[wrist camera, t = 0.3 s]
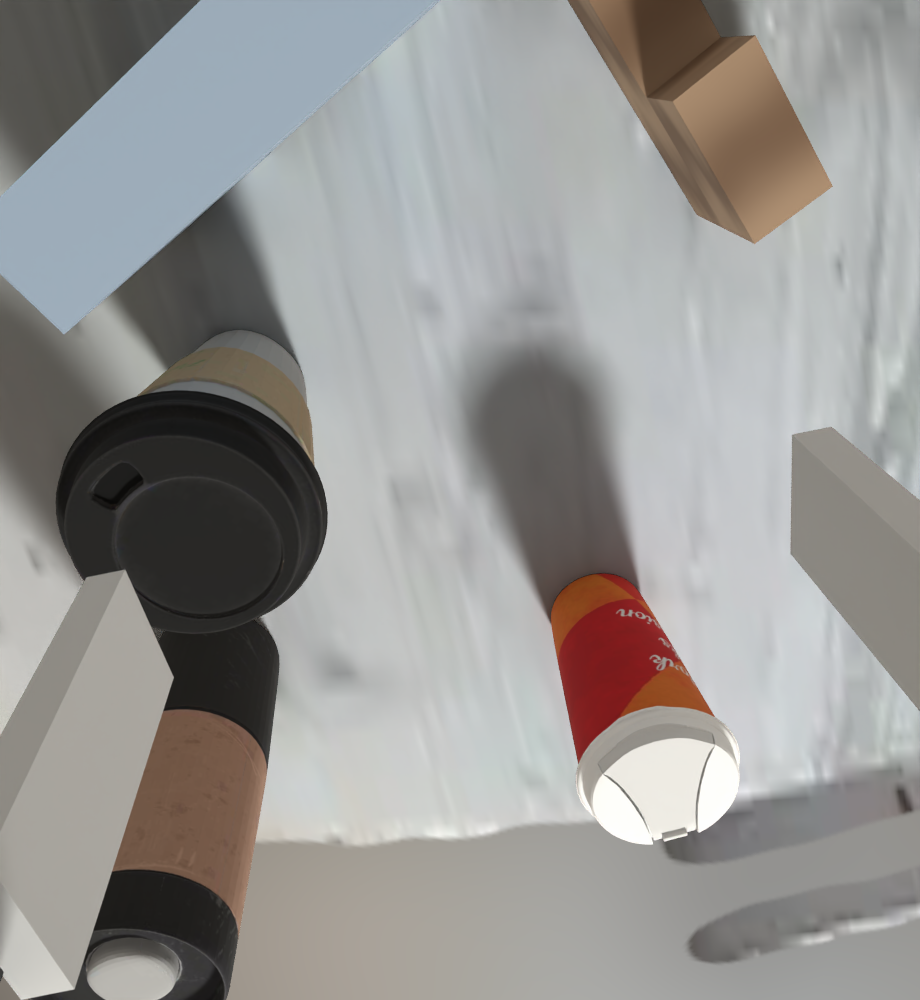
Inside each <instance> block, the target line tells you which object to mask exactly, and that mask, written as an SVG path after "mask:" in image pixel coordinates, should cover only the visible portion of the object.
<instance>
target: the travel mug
mask: <svg viewBox="0 0 920 1000" xmlns="http://www.w3.org/2000/svg"><path fill="white" fill-rule="evenodd" d="M158 644H159V646H160V648H161V650H162V652H163V655H164V657H165V659H166V661H167V664H168V666H169V668H170V670H171V672H172V675H173V677H174V678H173V681H172V685H171V688H170V691H169V694H168V697H167V700H166V703H165V707H164V710H163V713H162V716H161V719H160V722H159V725H158V729H157V732H156V735H155V738H154V741H153V744H152V747H151V750H150V754H149V757H148V760H147V763H146V766H145V769H144V772H143V776H142V779H141V782H140V785H139V788H138V791H137V794H136V798H135V801H134V804H133V807H132V810H131V813H130V816H129V820H128V823H127V826H126V829H125V832H124V835H123V838H122V842H121V845H120V848H119V851H118V854H117V857H116V860H115V864H114V867H113V870H112V873H111V876H110V879H109V882H108V885H107V889H106V892H105V895H104V898H103V901H102V904H101V907H100V911H99V914H98V917H97V920H96V923H95V926H94V929H93V933H92V936H91V939H90V942H89V945H88V948H87V951H86V955H85V958H84V961H83V964H82V967H81V970H80V973H79V977H78V980H77V983H76V986H75V989H73V990H68V991H63V992H58V993H53V994H48V995H43V996H38V997H33V998H28V999H29V1000H226V998H227V995H228V992H229V988H230V982H231V977H232V971H233V965H234V959H235V954H236V948H237V941H238V936H239V930H240V925H241V919H242V914H243V908H244V902H245V896H246V890H247V885H248V879H249V874H250V868H251V862H252V856H253V851H254V845H255V839H256V834H257V828H258V822H259V817H260V811H261V805H262V799H263V794H264V788H265V782H266V775H267V768H268V759H269V751H270V743H271V734H272V726H273V718H274V709H275V701H276V693H277V685H278V675H279V654H278V650H277V647H276V645H275V642H274V641H273V639H272V637H271V636H270V635H269V633H268V632H267V631H266V630H265V629H264V628H263V627H262V626H260V625H259V624H258V623H256V622H255V621H253V620H251V621H249V622H247V623H245V624H242V625H240V626H237V627H234V628H231V629H227V630H223V631H218V632H212V633H198V634H190V633H177V632H170V631H165V632H164V633H163V634H162V636H161V638H160V639H159V641H158Z"/></svg>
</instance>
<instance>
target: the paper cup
mask: <svg viewBox="0 0 920 1000" xmlns="http://www.w3.org/2000/svg"><path fill="white" fill-rule="evenodd" d="M551 624H552V632H553V638H554V644H555V649H556V654H557V659H558V665H559V670H560V675H561V680H562V685H563V690H564V695H565V700H566V705H567V710H568V715H569V720H570V725H571V730H572V735H573V740H574V745H575V750H576V755H577V760H578V768H577V772H576V787H577V793H578V795H579V798H580V800H581V802H582V803H583V805H584V806H585V808H586V809H587V810H588V811H589V812H590V813H591V814H592V815H593V816H594V817H595V818H596V819H597V821H598V822H599V824H600V825H602V826H603V827H604V828H605V829H606V830H607V831H608V832H610V833H611V834H613V835H614V836H616V837H618V838H621V839H623V840H626V841H629V842H633V843H639V844H653V842H652V839H651V837H653V839H654V840H657V839H661V838H663V840H664V841H668V840H672V839H675V838H679V837H683V836H687V832H689V831H693V830H695V826H696V829H697V831H698V832H699V833H700V832H701V831H703V830H705V829H707V828H708V827H709V826H711V825H712V824H714V823H715V822H716V821H717V820H718V819H719V818H721V817H722V816H723V815H724V813H725V812H726V811H727V810H728V809H729V807H730V806H731V804H732V802H733V801H734V799H735V796H736V794H737V791H738V786H739V762H740V753H739V748H738V744H737V741H736V739H735V737H734V735H733V734H732V732H731V731H730V730H729V729H728V727H727V726H726V725H725V724H724V723H722V722H721V721H720V720H718V719H717V718H715V716H714V715H713V713H712V711H711V710H710V708H709V706H708V705H707V703H706V701H705V700H704V698H703V696H702V695H701V693H700V691H699V690H698V688H697V686H696V685H695V683H694V681H693V680H692V678H691V676H690V675H689V673H688V671H687V670H686V668H685V666H684V664H683V663H682V661H681V659H680V658H679V656H678V654H677V653H676V651H675V649H674V648H673V646H672V644H671V643H670V641H669V639H668V638H667V636H666V634H665V633H664V631H663V630H662V628H661V626H660V625H659V623H658V621H657V620H656V618H655V616H654V615H653V613H652V611H651V610H650V608H649V607H648V605H647V604H646V602H645V600H644V599H643V597H642V596H641V594H640V593H639V592H638V590H637V589H636V588H635V587H634V586H633V585H632V584H631V583H630V582H629V581H627V580H626V579H624V578H622V577H620V576H617V575H613V574H606V573H599V574H591V575H587V576H584V577H581V578H579V579H577V580H575V581H573V582H572V583H570V584H569V585H568V586H566V587H565V588H564V589H563V590H562V591H561V592H560V594H559V595H558V596H557V598H556V600H555V602H554V604H553V607H552V611H551Z"/></svg>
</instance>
